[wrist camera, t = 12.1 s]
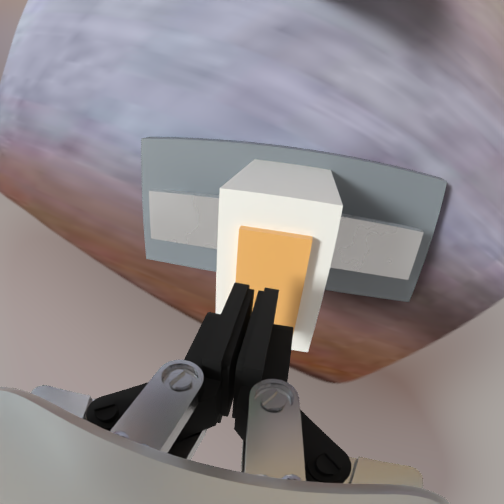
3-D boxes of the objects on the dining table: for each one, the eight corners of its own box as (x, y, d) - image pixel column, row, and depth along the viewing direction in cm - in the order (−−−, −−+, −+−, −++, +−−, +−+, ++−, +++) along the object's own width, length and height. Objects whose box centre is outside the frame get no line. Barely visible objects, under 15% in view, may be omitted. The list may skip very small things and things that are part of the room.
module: (330, 169, 18) (344, 208, 11) (311, 276, 22) (307, 357, 15) (254, 159, 19) (217, 190, 12) (245, 265, 23) (213, 340, 15)
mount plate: (440, 177, 18) (461, 190, 15) (405, 293, 22) (416, 320, 19) (149, 136, 21) (123, 142, 18) (152, 252, 25) (132, 272, 22)
